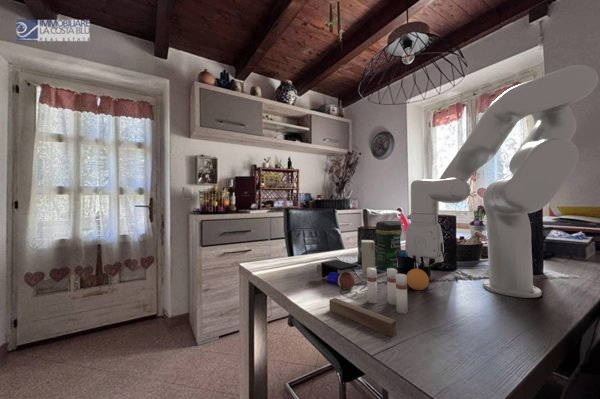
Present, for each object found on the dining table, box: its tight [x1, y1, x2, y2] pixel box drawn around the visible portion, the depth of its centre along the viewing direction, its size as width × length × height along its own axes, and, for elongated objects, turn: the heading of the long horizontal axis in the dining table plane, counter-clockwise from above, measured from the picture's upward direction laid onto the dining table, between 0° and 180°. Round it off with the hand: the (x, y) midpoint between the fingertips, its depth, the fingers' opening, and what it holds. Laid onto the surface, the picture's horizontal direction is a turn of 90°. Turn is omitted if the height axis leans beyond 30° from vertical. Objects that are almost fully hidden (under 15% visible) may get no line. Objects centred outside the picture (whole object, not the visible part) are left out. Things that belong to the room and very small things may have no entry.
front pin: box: [386, 268, 398, 306], centre depth 63 cm, size 2×2×8 cm
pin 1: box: [366, 267, 378, 304], centre depth 64 cm, size 2×2×8 cm
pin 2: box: [395, 273, 409, 315], centre depth 58 cm, size 2×2×8 cm
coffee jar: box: [375, 220, 403, 271], centre depth 96 cm, size 10×8×19 cm
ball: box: [406, 268, 430, 291], centre depth 72 cm, size 6×6×6 cm
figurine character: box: [316, 259, 358, 290], centre depth 79 cm, size 7×8×15 cm
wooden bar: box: [328, 297, 397, 338], centre depth 54 cm, size 2×16×2 cm, turn 40°
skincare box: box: [360, 239, 376, 279], centre depth 87 cm, size 6×4×12 cm
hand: (424, 278), depth 76 cm, fingers closed
